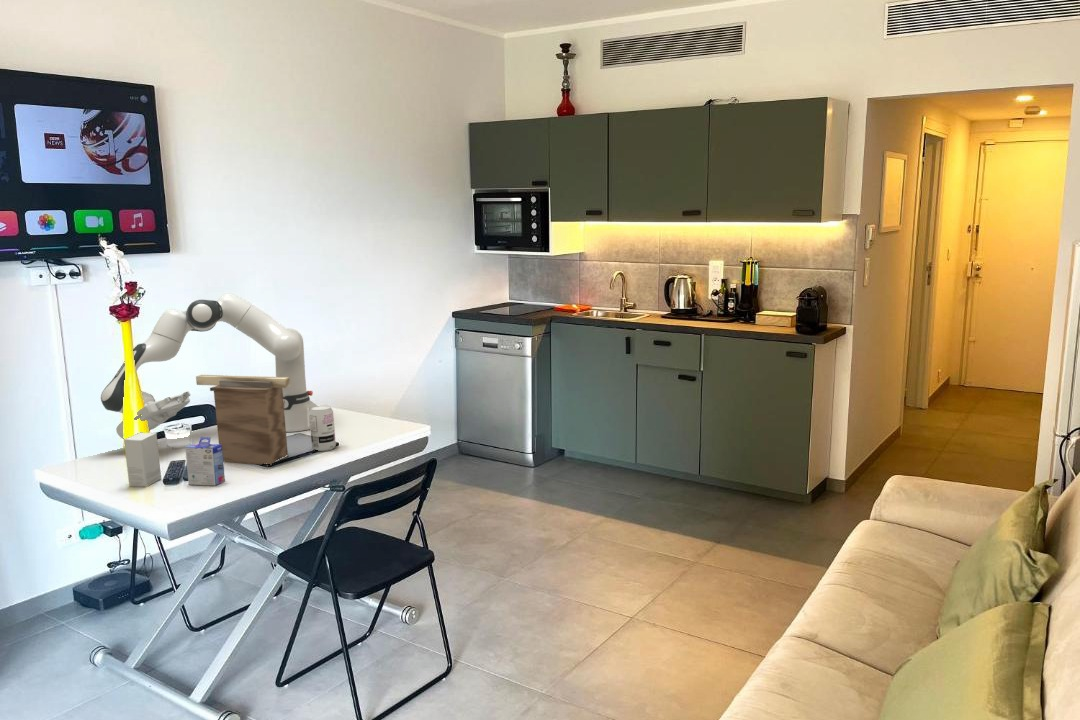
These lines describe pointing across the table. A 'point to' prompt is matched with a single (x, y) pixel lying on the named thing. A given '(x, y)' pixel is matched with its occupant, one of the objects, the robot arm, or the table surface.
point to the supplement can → (322, 428)
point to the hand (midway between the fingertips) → (179, 396)
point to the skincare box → (142, 459)
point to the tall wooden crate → (250, 421)
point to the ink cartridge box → (205, 463)
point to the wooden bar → (214, 380)
